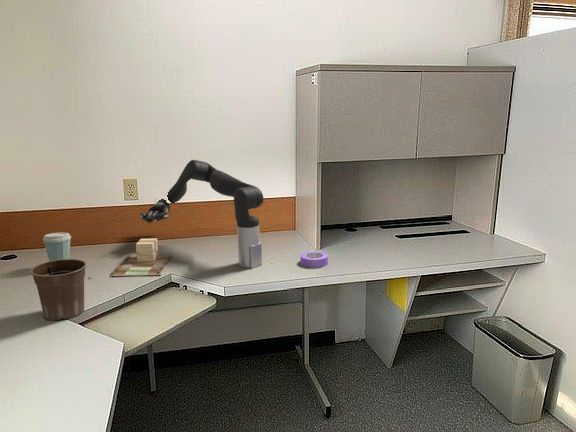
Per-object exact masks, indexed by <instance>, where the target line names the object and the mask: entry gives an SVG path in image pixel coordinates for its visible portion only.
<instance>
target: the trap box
mask: <svg viewBox="0 0 576 432" xmlns="http://www.w3.org/2000/svg"><path fill="white" fill-rule="evenodd" d="M172 256H173V253H169V255H165V254H164V255H158V257H157V258H156V259H155V261H154V262H137V255H134V256H133V255H132V256H131V254H128V255H127V256H126V257H124V259H123V260H122V261H121V262H120V263H119V264H118V265H117V266H116V267H115V269H113V270H112V272H111V278H142V277H143V278H145V277H161V276H162V274H161V273H162V271H163V270H164V268H165V267H166V265H167V263H168V262H169V261H170V259H171V258H172ZM156 262H163V263H162V265H161V266H154V265H155V264H156ZM125 263H133V264H132V265H131V266H130V267H122V266H124V264H125Z"/></svg>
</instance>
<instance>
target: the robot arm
mask: <svg viewBox="0 0 576 432" xmlns="http://www.w3.org/2000/svg"><path fill="white" fill-rule="evenodd" d="M190 180H195V181H200V182H206V183H209V186H210V187H211V189H212V190H213V191H215V192H216V193H219V194H220V195H222V196H226V197H232V198H233V206H234V217H235V221H236V233H237V234H236V235H237V257H238V266H239V267H241V268H249V269H253V268H256V267H259V266H262V265H263V256H262V254H263V252H262V243H261V242H260V241H261V240H260V219H259V217H257V216H253V215H251V214H250V213H249V210H252V209H253V210H254V209H256V208H259V207H261V205H262V204H263V203H264V195H263V193H262V190H261V189H260V188H259V187H258V186H255V185H253V184H249V183H246V182H243V181H242V180H240V179H238V178H235V177H233V176H232V175H230V174H229V173H227V172H224V171H222V170H220V169H219V170H218V169H217V168H215V167H214V166H212V165H211V164H209V162H206V161H202V160H198V159H192V160H190V161H188V162H187V164H186V165H185V166H184V168H183V170H182V172H181V173H180V174H179V177H178V179H177V181H176V182H175V183H174V184H173V186H171V188H170V189H169V190H168V191H169V192H168V191H167V193H168V195H167V194H166V195H167V197H168V200H169V201H170V202H171V203H175V202H177V201H179V202H180V200H181V199H182V198H183V197H184V196H185V195H186V193H187V191H188V190H187V189H188V186H187V185H188V182H189V181H190ZM155 203H156V202H155ZM155 203H154V204H153V205H152V206H151V207H150V208H149V209H148V212H146V213H143V212H140V219H141V220H143V221H146V222H147V223H148V224H150V223H153V222H160V221H162V220H166V219H168V218H169V217H168V214H167V213H168V212H169V209H170V206H169V204H168V203H167V202H166V200H164V199H161V200H159V201H158V202H157V203H156V204H155Z"/></svg>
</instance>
